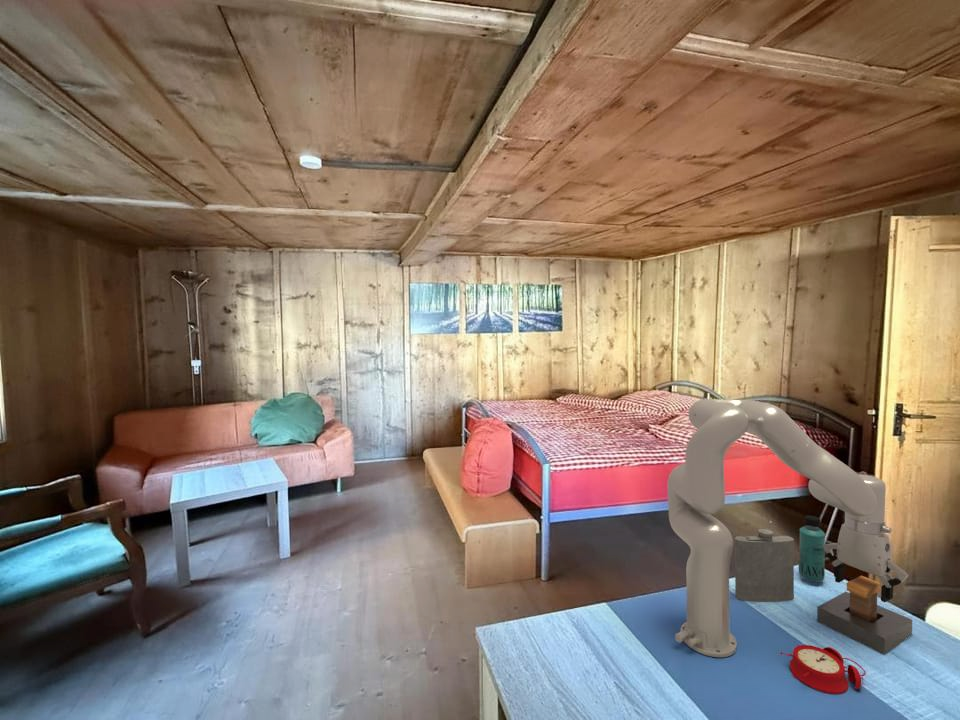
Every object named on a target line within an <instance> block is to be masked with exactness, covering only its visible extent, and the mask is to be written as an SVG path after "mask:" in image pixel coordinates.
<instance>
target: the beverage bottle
mask: <svg viewBox="0 0 960 720" xmlns="http://www.w3.org/2000/svg"><path fill="white" fill-rule="evenodd" d="M803 524H805V525H804V526H802V527H800V528H799V550H798V553H799V554H798V573H799V576H800V577H802V579H804V580H806V581H810V582H815V583H821V582H823V581H824V580H825V578H826V577H825V576H826V574H825V568H826V567H825V566H826V565H825V563H826V559H825V555H826V552H825V550H824V548H823V545H825V544H826V543H825V542H826V534H825V532H824V531H823V530H822V529H821V528H820V527H822V523H821V519H820V517H817V516H814V515H804V519H803Z"/></svg>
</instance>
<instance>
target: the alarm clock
mask: <svg viewBox="0 0 960 720" xmlns="http://www.w3.org/2000/svg"><path fill="white" fill-rule="evenodd" d="M780 655H785V656H788V657H792V658H791V659H790V661H789V669H790V672H791V673H792V674H791V676H792V677H793V678H794V679H795V678H796V679H798V680H799V681H800V682H801V683H803V684H805V685H806V686H808V687H810V688H812V689H814V690H815V691H816V690H817V691H820V692H823V693H827V694H833V695H837V694H838V695H839V694H843V693H845V692H847V691H848V689H849V682H851V683H854V684H855V687H854V689H855V690H858V689H859V690H860V689H861V687H862V680H863V679H864V676H866V675H867V672H866V670H865V669H864V668H863V666H861V665H860V664H858V662H856V661H855V660H853V659H850V658H847V657H843V656H842V655H841V653H840V652H839V651H838V650H836V649H835V648H833V647H830V646H826V647H823V648H821V647H819V646H815V645H809V644H799V645H796V646H795V647H794V648H793V650H792V654H789V653H785V652H782V651H780ZM845 660H847V661H850V662H853V663H854V664H855V665H857V666H858V667H859V668H860V669H861V670H862V671H863V672H864V673H863V674H860V671H859V669H858V668H857V667H856V666H854V665H851V664H848V666H846V665H844V664H845ZM846 673H847V677H846ZM847 678H848V679H847ZM848 681H849V682H848Z"/></svg>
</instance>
